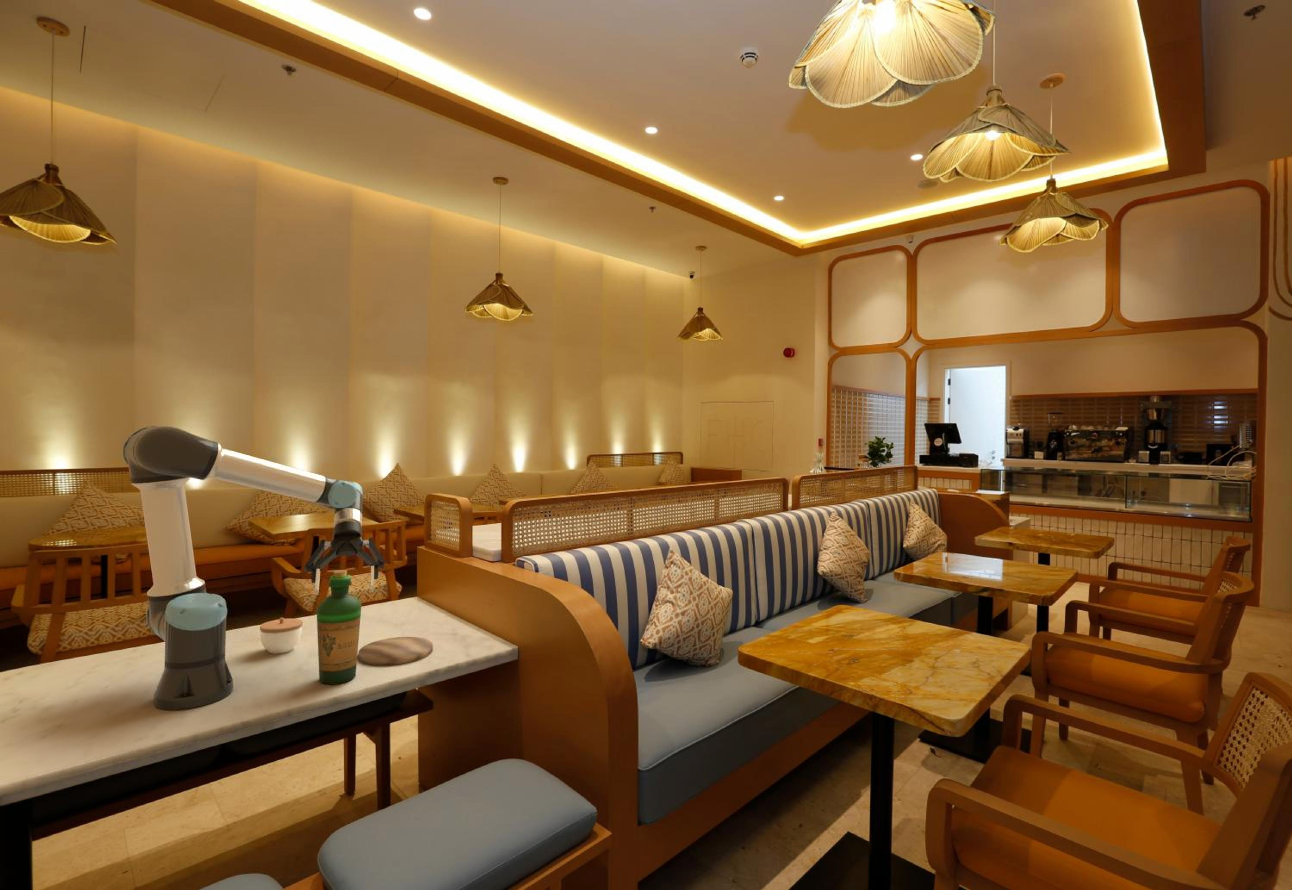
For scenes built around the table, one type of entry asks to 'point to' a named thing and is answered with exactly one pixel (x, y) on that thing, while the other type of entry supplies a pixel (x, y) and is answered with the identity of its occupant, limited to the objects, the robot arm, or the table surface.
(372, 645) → the serving board
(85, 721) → the table surface
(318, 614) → the bottle
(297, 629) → the lidded jar
